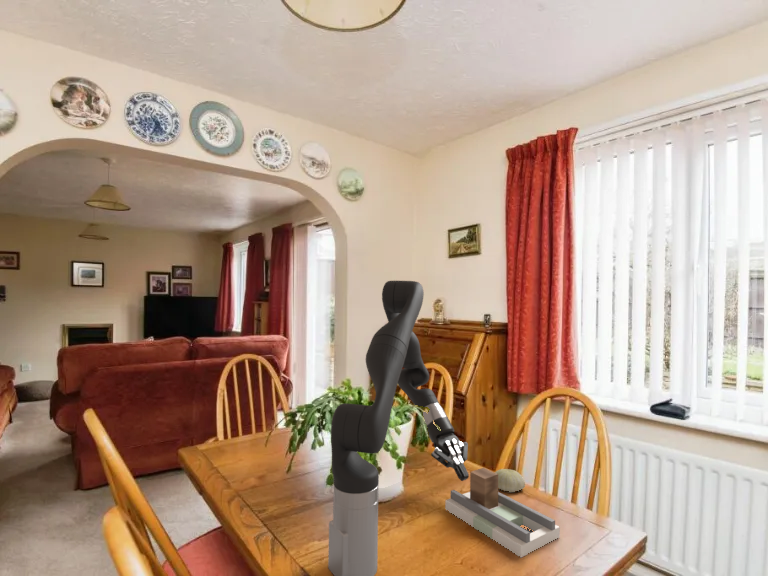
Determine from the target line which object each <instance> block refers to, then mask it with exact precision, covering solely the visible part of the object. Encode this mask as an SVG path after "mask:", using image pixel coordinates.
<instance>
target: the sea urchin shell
mask: <svg viewBox="0 0 768 576" xmlns="http://www.w3.org/2000/svg"><path fill="white" fill-rule="evenodd" d="M494 473H496V474H498V488H499V489H498V490H500V489H501V491H502V490H504V491H503V492H505V491H509V492H508V493H515V491H518V492H520V491H519V490H521V489H523V488H524V489H525V487H526V482H525V478H524V477H523V475H522V474H520V472H518V471H516V470H514V469H510V468H500V469H498V470H496V471H495V472H494ZM524 484H525V485H524ZM524 489H523V490H524ZM521 491H522V490H521Z"/></svg>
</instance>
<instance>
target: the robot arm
mask: <svg viewBox="0 0 768 576" xmlns="http://www.w3.org/2000/svg"><path fill="white" fill-rule="evenodd" d="M424 295H425V294H424V288H423V285H422V284H421V283H420V282H419V281H415V280H387V281H386V282H385V283H384V285H383V288H382V291H381V299H382V300H381V301H382V305H383V309H384V313H385V316H386V319H387V323H385V324H384V325H383V326H381V327H380V328H379V329H377V331H376V332H375V333H374V334H373V336H372V338H371V341H370V343H369V346H368V348H367V351H366V354H365V364H366V368H367V371H368V374H369V377H370V379H371V381H372V384H373V386H374V391H375V399H374V401H373V403H372V405H368V404H359V403H358V404H357V403H356V404H355V403H347V402H346V403H341V404H339V405H338V406H337V407H336V409H335V410H334V412H333V415H332V420H331V426H330V427H331V428H330V442H331V445H330V446H331V471H332V475H333V476H332V477H333V504H332V505H333V506H332V508H333V509H332V520H330V521H329V523H328V562H327V563H328V564H327V565H328V567H327V568H328V570H329V571H330V572H331V574H333V576H376V573H377V572H378V550H379V549H378V547H379V545H378V542H379V537H378V536H379V482H380V481H379V470H378V469H377V467H376V466H375V465H374V464H373V463H371V462H369V461H367V460H366V459H365V458H363V457H362V455H360V454H359V453H365V454H377V453H379V451H381V449H382V448H383V446H384V444H385V441H386V438H387V433H388V428H389V425H390V421H391V420H390V419H391V414H392V408H393V404H394V400H395V399H394V398H395V395H396V391H397V386H398V387H399V388H400V390H401V391H403V393H405V394H406V395H407V397H408V398H409V399H410V400H411V402H412V403H413V405H414V406H415V405H418V406H423V407H428V408H429V409H430V410H429V412H428V414H427V413H426V412H423V416H424V419H425V422H426V424H427V427H428V432H429V435H428V437H429V440H430V442H431V443H433V447H434V449H433V451H432V452H431V454H430V455H431V457H432V458H434V460H435V461H437V462H439V463H440V464H441V465H443V466H444V467H446V468H448V469H449V468H452V469H453V470H454V472H455V475H456V477H457V478H458V479H459V480H460V481H461V482H463V481H466V480H467V479H468V478H469V477H470V476H469V472H468V469H467V468H466V466H465V462H466V461H467V460H468V451H469V450H468V447H469V444H468V442H467V441H464V442H462V441H460V439H459V437H458V436H456V433H455V428H454V426H453V424H452V423H451V421H450V420H449V417H448V415H447V413H446V412H445V410H444V408H443V407H442V406H441V404H440V402H439V401H438V398H437V397H436V394H435V393H434V391H433V389H430V388H418V387H421V386H424V385H426V384H427V383H428V382H429V380H430V372H429V370H428V369H427V367H426V364H424V361H423V358H422V354H421V345H420V342H419V339H418V337H417V334H416V333H415V332H414V331H413V329H414V327H415V324H416V322H417V319H418V317H419V314H420V312H421V309H422V306H423V302H424ZM433 420H434V422H435V424H437V425H438V426H439V427H440V429H441V431H439V430H438V429H437V427H436V426H435V425H434V424H433Z"/></svg>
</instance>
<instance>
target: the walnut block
mask: <svg viewBox="0 0 768 576" xmlns="http://www.w3.org/2000/svg"><path fill="white" fill-rule="evenodd" d="M469 477H470V478H469V479H470V481H469V482H470V483H469V486H470V487H469V488H470V489H469V492H470V499H471V500H473V501H475V502H477V503H479V504H480V505H482V506H484V507H486V508H487V509H491V508H494V507H496V506H498V492H499V489H498V474H496V473H495V472H494V471H492V470H490V469H488V468H486V467H481V468H478V469H475V470H472V471H470V476H469Z"/></svg>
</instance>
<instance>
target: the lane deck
mask: <svg viewBox="0 0 768 576" xmlns="http://www.w3.org/2000/svg"><path fill="white" fill-rule="evenodd" d="M444 506H445V509H446V510H445V509H444V510H445V511H447V510H448V511H449V512H448V511H447V512H448V513H450V514H451V513H452V514H451V515H453V514H454V515H455V517H456V516H457V517H456V518H458V519H459V518H460V519H459V520H461V519H462V520H463V521H462V520H461V521H462V522H464V521H465V522H466V524H467V523H468V524H467V525H469V526H470V525H471V526H470V527H472V528H473V527H474V529H475V530H477V531H478V530H479V531H478V532H479V533H481V532H482V534H483V533H484V534H485V535H484V534H483V535H484V536H486V535H487V536H486V537H488V538H489V537H490V538H489V539H491V540H492V539H493V540H492V541H494V540H495V541H496V542H495V541H494V542H495V543H497V542H498V543H497V544H499V545H500V544H501V545H500V546H502V547H503V546H504V547H503V548H505V549H506V548H507V549H506V550H508V549H509V550H508V551H509V552H511V551H512V552H511V553H512V554H514V553H515V555H516V556H517V557H519V556H520V557H519V558H523V557H525V556H527V555H529V554H531V553H532V551H533V552H535V551H536V549H537V550H539V549H541V548H542V546H543V547H544V545H545V544H547V543H548V544H550V543H552V542H554V541H556V540H558V539H560V538H561V535H560V534H561V530H560V529H561V527H560V526H559V525H557V524H556V520H555V519H553V518H551V517H549V516H547V515H545V514H543V513H541V512H539V511H537V510H535V509H534V508H531V507H529V506H527V505H526V504H523V503H521V502H519V501H517V500H515V499H514V498H511V497H509V496H507V495H505V494H504V493H501V492H499V491H498V506H496V507H494V508H491V509H487V508H486V507H484V506H482V505H480V504H479V503H477V502H475V501H473V500H471V499H470V491H468V492H465V493H460V492H459V491H457V490H455V489H452V490H450V497H449V498H448V499H445V505H444ZM454 515H453V516H454ZM465 522H464V523H465ZM521 525H524V526H526V527H528V528H529V529H531V530H530V531H529V529H528V528H527V530H526V529H524V528H525V527H524V528H522V527H520V526H521ZM532 530H533V531H534V532H533V531H532ZM559 537H560V538H559ZM557 538H558V539H557ZM555 539H556V540H555ZM553 540H554V541H553ZM551 541H552V542H551ZM549 542H550V543H549ZM548 544H547V545H548ZM545 546H546V545H545ZM540 547H541V548H540ZM538 548H539V549H538ZM534 550H535V551H534ZM530 552H531V553H530ZM528 553H529V554H528Z"/></svg>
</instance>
